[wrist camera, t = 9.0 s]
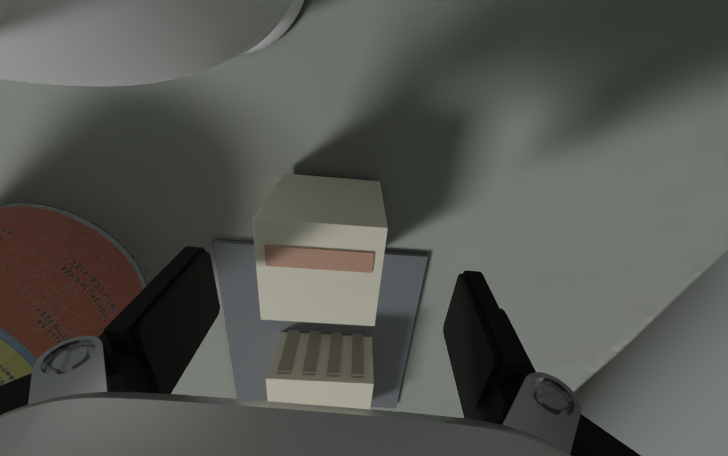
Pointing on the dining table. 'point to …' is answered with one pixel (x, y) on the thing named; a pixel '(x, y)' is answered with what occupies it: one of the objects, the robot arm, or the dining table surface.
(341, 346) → the cream striped box
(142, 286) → the canned food
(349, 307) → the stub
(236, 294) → the mat
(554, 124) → the dining table surface
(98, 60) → the jar
